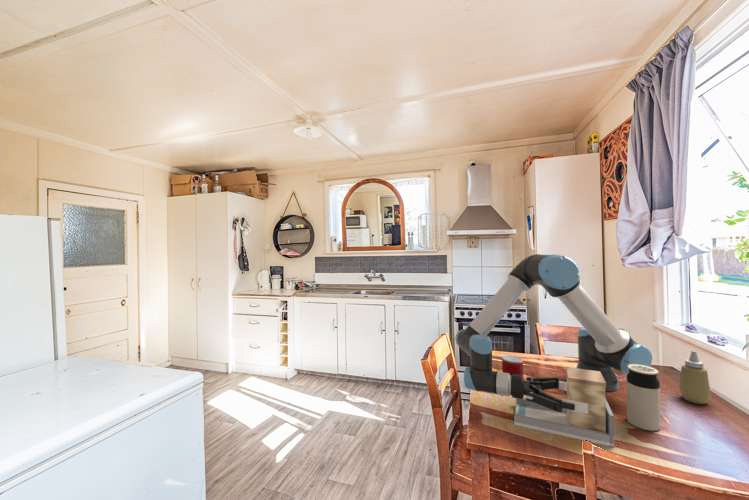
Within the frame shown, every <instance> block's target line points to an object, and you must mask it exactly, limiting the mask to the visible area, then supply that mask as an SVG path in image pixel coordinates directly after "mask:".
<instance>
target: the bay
mask: <svg viewBox="0 0 749 500" xmlns="http://www.w3.org/2000/svg"><path fill="white" fill-rule="evenodd" d="M515 401H516V402H515V412H514V416H513V420H514V421H513V422H514V426H518V427H521V428H525V429H526V428H527V429H531V430H536V431H541V432H545V433H549V434H554V435H558V436H562V437H567V438H572V439H575V440H580V441H584V440H588V441H591V442H590V443H594V444H598V445H603V446H607V447H611V448H615V415H614V413H613V410H612V409H611V407H610V405H609V402H608V400H607V398H606V397H605V401H606V433H603V432H598V431H594V430H589V429H584V428H580V427H575V426H570V425H569V422H568V417H567V409H562V412H557V411H554V410H552V409H549V408H547V407H544V406H542V405H539V404H536V403H534V402H530V401H527V400H526V397H523V399H518V398H515ZM588 441H587V442H588Z"/></svg>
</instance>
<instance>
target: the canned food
mask: <svg viewBox="0 0 749 500" xmlns="http://www.w3.org/2000/svg"><path fill="white" fill-rule="evenodd" d="M501 365H502V367H501V370H502V371H501V372H504V373H509V374H510V375H513V374H515V375H522V376H523V377H524V359H523V358H522V357H520V356H518V355H510V354H509V355H508V354H507V355H503V356H501Z"/></svg>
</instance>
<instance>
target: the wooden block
mask: <svg viewBox="0 0 749 500" xmlns="http://www.w3.org/2000/svg"><path fill="white" fill-rule="evenodd" d="M565 373H566V382H567V391H566V399H567V400H572V401H578V402H583V403H588V414H587V413H582V412H577V411H572V410H567V417H568V422H569V425H570V426H575V427H580V428H584V429H589V430H594V431H598V432H603V433H606V401H605V398H606V391H605V387H606V382H605V380H604V378H603V376H602V374H601V372H600V371H593V370H586V369H578V368H576V367H569V366H565Z"/></svg>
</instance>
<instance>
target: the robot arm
mask: <svg viewBox="0 0 749 500" xmlns="http://www.w3.org/2000/svg"><path fill="white" fill-rule="evenodd" d="M579 272H580V269H579V267H578V265H577V264H576V261H574V260H573V259H572V258H570V257H569V256H566V255H565V256H564V255H561V254H532V255H529V256H527V257H525V258H523V259H522V260H521V261H520V262H519V263H518V264H516V266H515V267H513V269H512V270H511V271H510V272H509V274H508V275H507V280H506V281H505V282H504V283H503V285H502V286H501V287H500V288H498V290H497V292H495V294H494V295H493V296H492V298H490V300H489V301H488V302H487V303H486V304H485V306H484V307H483V308H482V309H481V310H480V312H479V313H478V314H477V315H476V316H475V318H474V319H473V320H472V321H471V322H470V323H469V324H468V326H467V327H466V328H464V329H460V330H458V331H457V332H456V334H455V336H454V339H455V343H456V344H457V346H458V347H459V349H461V350H462V351H464V352H465V353H466V355H467V356H468V357H469V361H470V363H469V364H470V365H469V366H466V367H465V368H464V371H463V372H464V373H463V384H464V387H465V388H466V389H469V390H473V391H476V392H480V393H481V392H482V393H486V394H492V395H498V396H500V397H510V396H511V398H513V399H516V398H518V399H523V398H526V400H527V401H530V402H534V403H536V404H539V405H542V406H544V407H547V408H549V409H552V410H554V411H557V412H562V409H567V410H572V411H577V412H582V413H587V414H588V403H583V402H578V401H572V400H567V398H566V399H565V398H561V399H559V398H558V397H555V396H554V395H552V394H550V393H547V392H545V391H548V390H553V389H558V390H559V391H564V392H567V381H561V380H560V379H559V377H555V376H553V377H531V376H527V377H526V380H524V375H523V376H522V375H515V374H513V375H510V374H509V373H504V372H502V371H495V370H493V344H492V338H491V337H490V336H488V334H490V332H491V331H492V330H493V328H495V326H497V324H498V323H499V322H500V321H501V320H502V318H503V317H504V315H506V313H507V312H508V311H509V310H510V309H511V308H512V306H513V305H514V304H515V303H516V301H518V299H519V298H520V297H521V296H522V295H523V294H524V292H529V291H530V290H531V288H532V287H534V286H536V285H538V286H541V287H542V288H543V289H544V291H546V292H547V294H548V295H550V297H552V298H555V299H556V298H558V300H560V302H561V303H562V304H563V305H564V306H565V307H566V309H568V311H569V312H570V313H571V314H572V316H573V317H574V318H575V320H577V322H578V323H579V324H580V325H581V326H582V327H580V328H579V329H578V332H577V351H578V362H577V364H576V367H575V368H578V369H586V370H593V371H600V372H601V374H602V376H603V378H604V380H605V382H606V387H605V392H615V391H618V390H619V389H620V388H619V385H620V384H619V379H618V377H617V374H616V372H615V370H617V371H620V372H622V373H623V374H624V375H627V374H628V373H629V368H628V367H627V366H628V365H630V364H638V365H645V366H649V367H651V366H652V361H653V354H652V352H651V350H650V349H649V348H648V347H647V346H645V345H644V344H642V343H637V342H636V341H635V340H634V339H633V338H632V336H630V334H629V332H627V331H626V330H623V329H620V328H618V327H617V326H616V325H615V324H614V322H613V321H612V320H611V319H610V318H609V317H608V316H607V314H606V313H605V312H604V311H603V310H602V309H601V307H600V306H599V305H598V304H597V303H596V302H595V301H594V299H593V298H592V297H591V295H589V293H588V292H587V291H586V290H585V289H584V288H583V286H582V285H581V281H582V278H581V277H580V274H579ZM524 396H525V397H524Z"/></svg>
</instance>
